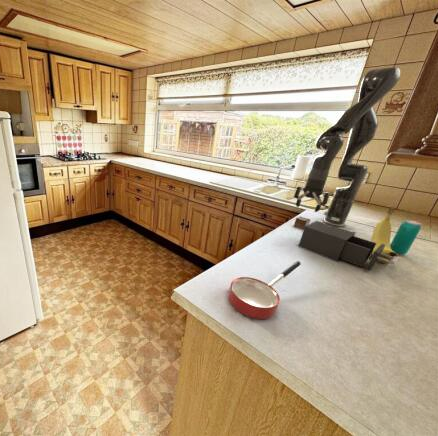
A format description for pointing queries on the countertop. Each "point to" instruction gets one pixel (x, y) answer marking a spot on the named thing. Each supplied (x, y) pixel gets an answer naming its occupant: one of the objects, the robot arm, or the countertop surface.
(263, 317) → the frying pan
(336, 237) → the block
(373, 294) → the countertop surface
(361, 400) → the countertop surface
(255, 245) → the countertop surface
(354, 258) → the basket
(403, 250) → the beverage can
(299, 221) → the block
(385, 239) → the banana
